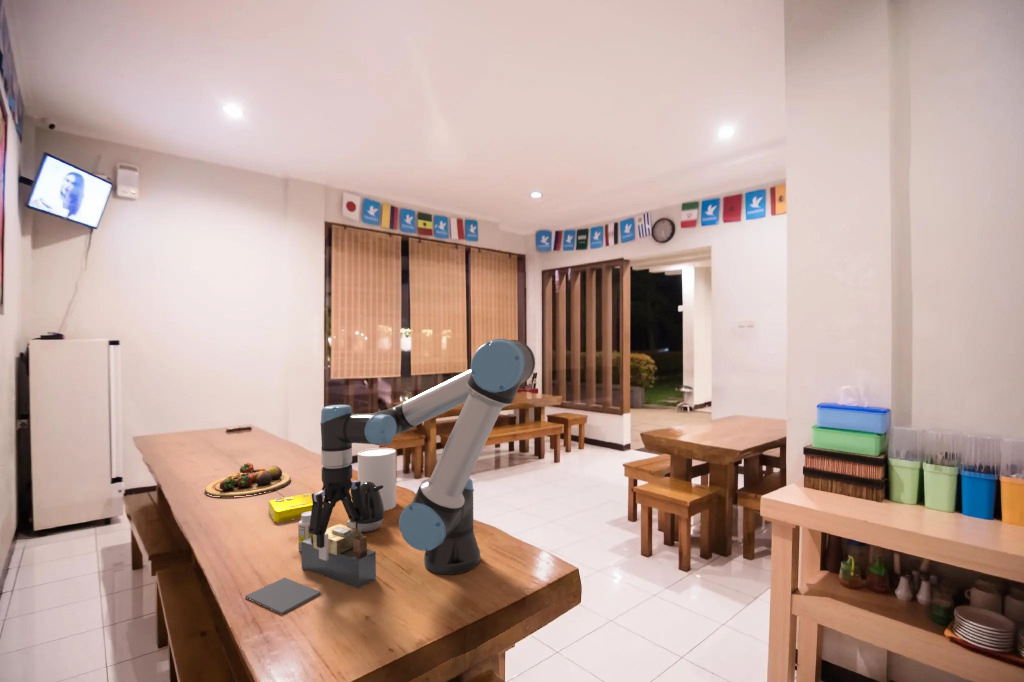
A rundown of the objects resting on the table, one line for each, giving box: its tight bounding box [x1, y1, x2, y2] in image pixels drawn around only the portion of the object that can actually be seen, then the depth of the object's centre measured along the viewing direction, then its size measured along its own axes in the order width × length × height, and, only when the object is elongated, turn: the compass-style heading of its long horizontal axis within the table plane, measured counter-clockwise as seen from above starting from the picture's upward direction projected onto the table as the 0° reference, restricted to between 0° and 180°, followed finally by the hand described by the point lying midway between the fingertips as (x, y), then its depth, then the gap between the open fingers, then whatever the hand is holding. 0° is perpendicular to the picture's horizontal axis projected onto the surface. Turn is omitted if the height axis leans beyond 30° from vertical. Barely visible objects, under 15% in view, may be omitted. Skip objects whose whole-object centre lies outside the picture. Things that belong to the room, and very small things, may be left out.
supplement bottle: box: [297, 511, 312, 552], centre depth 138 cm, size 6×6×10 cm
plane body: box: [301, 534, 377, 589], centre depth 123 cm, size 22×6×11 cm, turn 59°
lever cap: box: [313, 523, 363, 555], centre depth 123 cm, size 9×8×4 cm
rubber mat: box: [244, 577, 322, 616], centre depth 112 cm, size 14×10×1 cm
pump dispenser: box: [357, 482, 385, 533], centre depth 153 cm, size 10×10×15 cm
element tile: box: [268, 492, 313, 523], centre depth 169 cm, size 15×15×5 cm
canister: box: [357, 447, 397, 512], centre depth 174 cm, size 14×14×20 cm
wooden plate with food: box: [204, 462, 291, 497], centre depth 201 cm, size 32×32×8 cm
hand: (338, 552), depth 123 cm, fingers closed on lever cap, 8 cm apart
